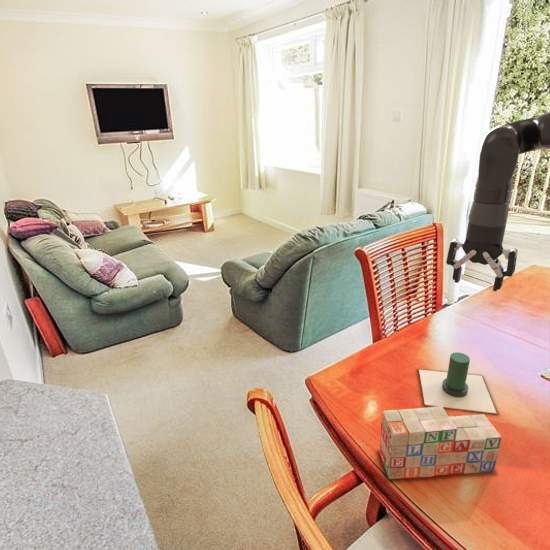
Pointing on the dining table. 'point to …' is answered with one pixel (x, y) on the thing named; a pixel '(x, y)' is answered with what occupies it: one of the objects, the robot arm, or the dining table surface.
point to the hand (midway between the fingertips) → (475, 285)
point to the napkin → (472, 401)
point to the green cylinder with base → (457, 375)
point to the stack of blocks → (436, 443)
